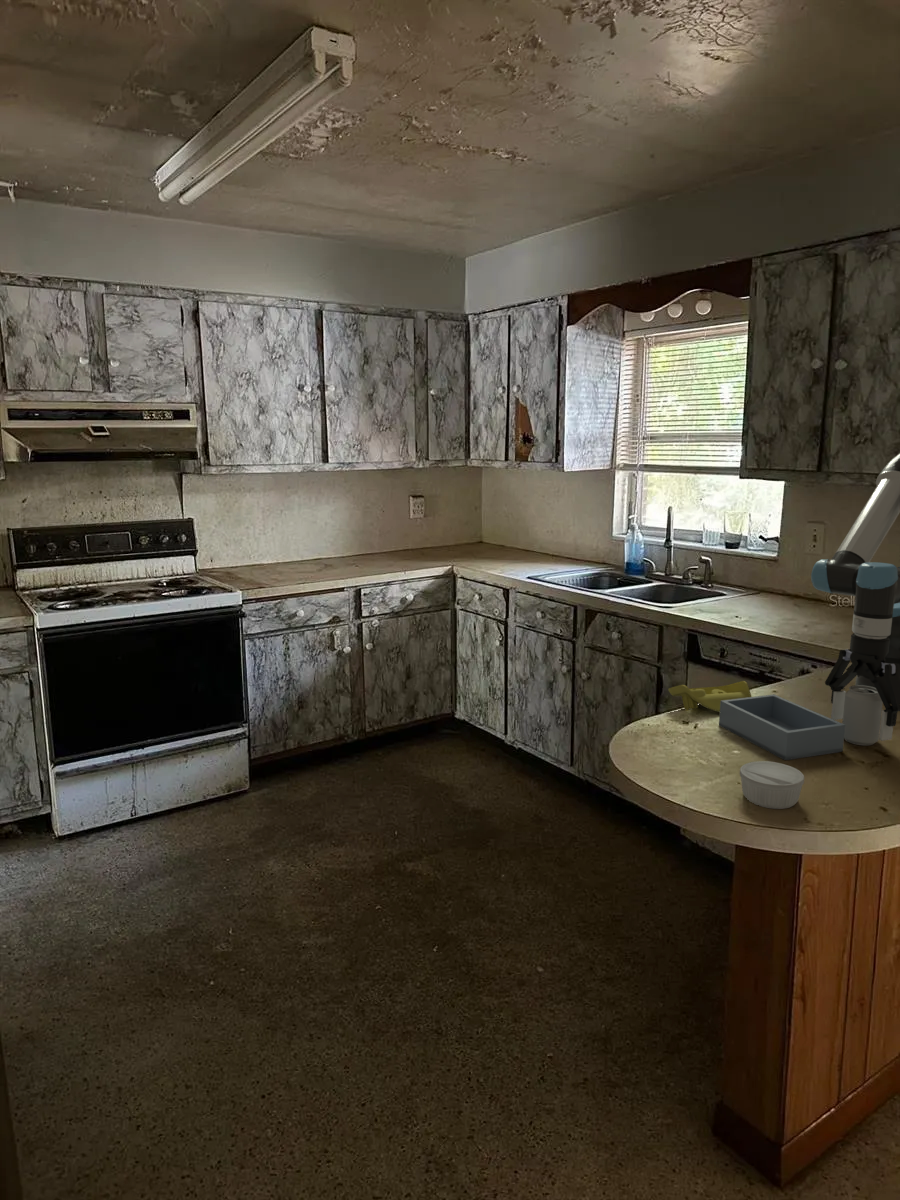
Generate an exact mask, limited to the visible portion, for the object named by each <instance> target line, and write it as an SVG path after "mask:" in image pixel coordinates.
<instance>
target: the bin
mask: <svg viewBox="0 0 900 1200" xmlns="http://www.w3.org/2000/svg"><path fill="white" fill-rule="evenodd" d="M718 726H719V727H721V728H722V729H724V730H727V731H729V732H730V733H732V734H734V735H736V736H738V737H739V738H742V739H744V740H745V741H748V742H749V743H751V744H753V745H755V746H757V747H759V748H761V749H763V750H764V749H765V751H767V752H768V751H769V752H768V753H770V754H773V755H774V756H776V757H777V758H780V759H781V760H784V761H790V760H797V759H803V758H808V757H815V756H822V755H823V756H824V755H827V754H828V755H829V754H836V753H840V752H841V753H842V752H843V751H844V744H845V743H844V742H845V741H844V740H845V739H844V733H845V725H844V724H842V722H839V721H838V720H833V719H831V717H828V716H827V715H823V714H821V713H819V712H816V711H814V710H811V709H809V708H807V707H804V706H802V705H800V704H797V703H796V702H793V701H791V700H789V699H785V698H784V697H781V696H779V695H776V694H773V693H772V694H767V695H764V694H763V695H759V696H758V695H757V696H752V697H747V698H739V699H731V700H722V701H721V702H720V712H719V719H718Z"/></svg>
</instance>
